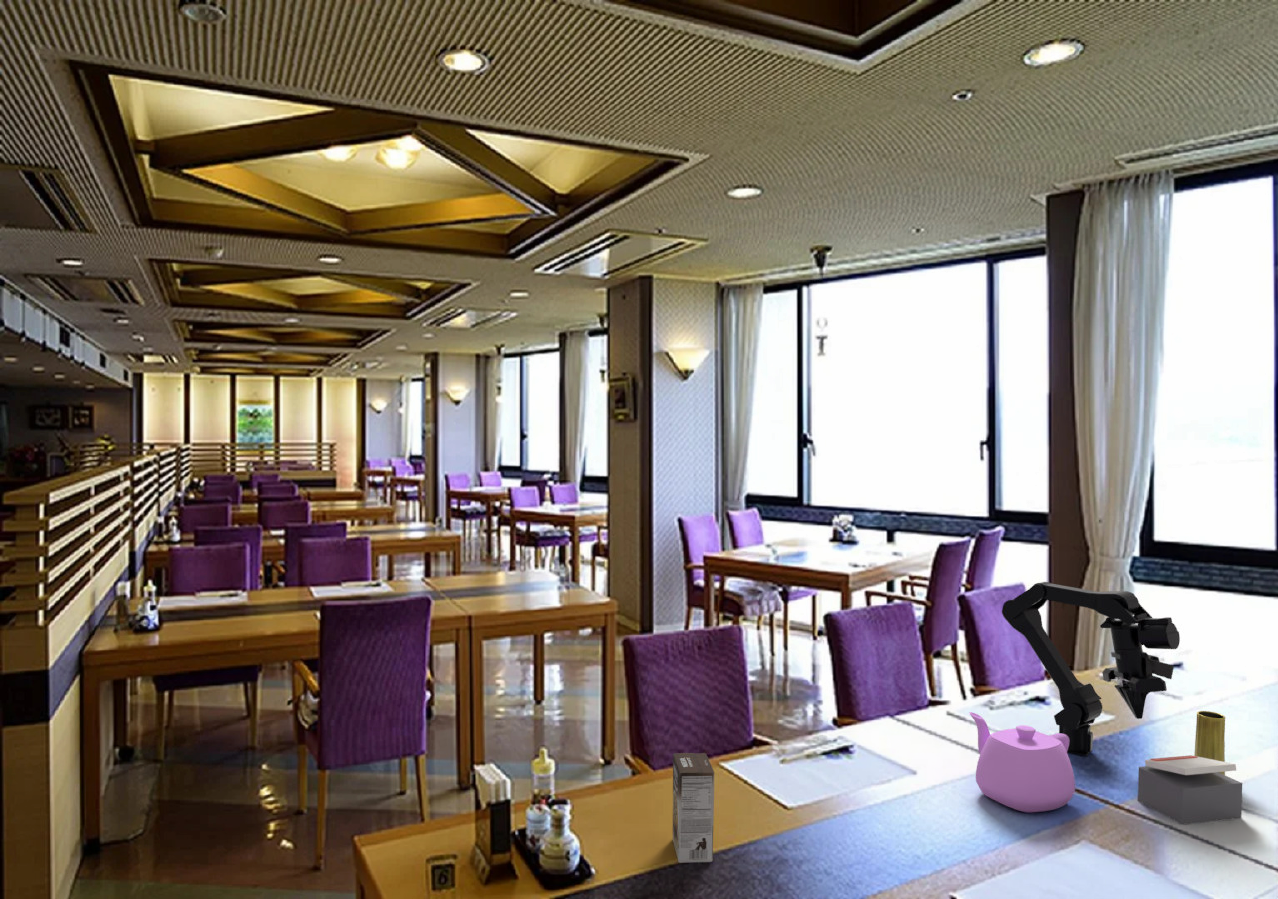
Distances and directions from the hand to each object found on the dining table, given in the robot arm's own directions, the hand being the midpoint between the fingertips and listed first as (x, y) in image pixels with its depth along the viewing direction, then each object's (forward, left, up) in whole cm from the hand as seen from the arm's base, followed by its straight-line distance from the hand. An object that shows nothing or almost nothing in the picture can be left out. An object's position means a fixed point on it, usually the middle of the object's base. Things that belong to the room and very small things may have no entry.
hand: (1139, 718), depth 195 cm
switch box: (+11, -17, -12) cm, 23 cm away
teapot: (-17, -33, -12) cm, 39 cm away
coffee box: (-58, -94, -12) cm, 111 cm away
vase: (+13, +4, -12) cm, 18 cm away
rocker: (+11, -17, -3) cm, 20 cm away
